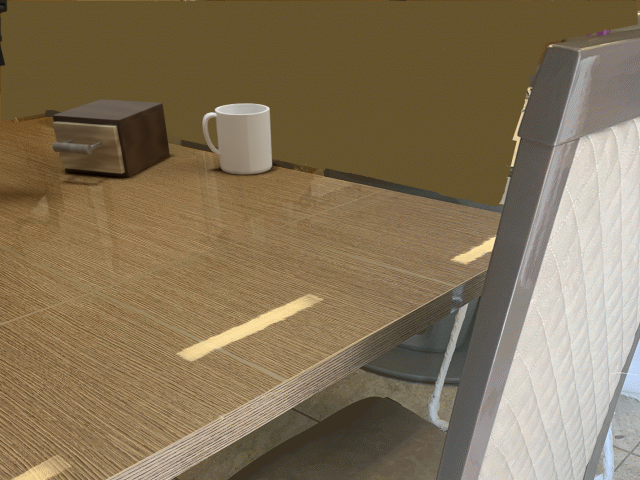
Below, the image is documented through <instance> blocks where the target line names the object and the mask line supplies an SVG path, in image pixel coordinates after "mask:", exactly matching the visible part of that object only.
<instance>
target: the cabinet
mask: <svg viewBox="0 0 640 480" xmlns="http://www.w3.org/2000/svg"><path fill="white" fill-rule="evenodd" d="M52 120H53V122H56V121H59V122H65V121H66V122H79V123H93V124H106V125H116V126H117V129H118V135H119V140H120V146H121V151H122V157H123V163H124V168H125V172H124V173H122V174H120V173H110V172H99V171H89V170H78V169H68V168H64V171H65V172H68V173H79V174H88V175H89V174H90V175H99V176H108V177H109V176H110V177H120V178H131V177H133V176H135V175H136V174H138V173H141V172H142V171H144V170H146V169H148V168H149V167H152V166H153V165H156V164H158V163H160V162H162V161H164V160H165V159H167V158H169V157H170V156H171V154H170V146H169V140H168V132H167V131H168V130H167V124H166V117H165V110H164V103H163V102H152V101H139V100H138V101H137V100H122V99H106V98H99V99H97V100H94V101H92V102H89V103H84V104H82V105H80V106H79V105H78V106H77V107H73V108H70V109H68V110H64V111H61V112H58V113H55V114H53V115H52Z"/></svg>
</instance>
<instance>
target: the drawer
mask: <svg viewBox="0 0 640 480" xmlns="http://www.w3.org/2000/svg"><path fill="white" fill-rule="evenodd" d="M52 126H53V131H54V135H55V140H56V141H54V142H53V143H52V150H53V151H54V152H56V153H59V157H60V161H61V166H62V168H63V169H65V168H68V169H78V170H89V171H99V172H110V173H120V174H122V173H124V172H125V168H124V163H123V157H122V151H121V146H120V140H119V135H118V129H117V126H116V125H106V124H93V123H79V122H66V121H65V122H59V121H56V122H54V121H53V122H52Z"/></svg>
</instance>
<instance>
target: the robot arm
mask: <svg viewBox="0 0 640 480" xmlns="http://www.w3.org/2000/svg"><path fill="white" fill-rule="evenodd" d="M7 11H8V0H0V15H1V14H3V13H6V12H7ZM1 42H3V36H2V33H1V30H0V43H1ZM4 66H6V62H5V57H4V54H3V49H2V46H1V44H0V67H4Z"/></svg>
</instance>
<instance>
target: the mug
mask: <svg viewBox="0 0 640 480" xmlns="http://www.w3.org/2000/svg"><path fill="white" fill-rule="evenodd" d="M270 111H271V110H270V107H269V106H267V105H265V104H259V103H232V104H225V105H221V106H220V105H219V106H218V107H216V108H214V112H213V111H212V112H211V111H210V112H207V113H206V114H204V116H203V118H202V132H203V136H204V140H205V142H206V145H207V147H208V148H209V149H210V150H211V152H213V153H214V154H215V155H218V157H219V168H220V169H221V171H222V172H224V173H228V174H231V175H255V174H256V175H258V174H261V173H265V172H267V171H269V170H271V168H272V167H273V155H272V153H273V152H272V133H271V132H272V131H271V112H270ZM213 118H215V125H216V126H215V127H216V136H217V146H218V147H217V148H216V147H215V145H214V144H213V142H212V139H211V137H210V134H209V125H208V124H209V121H210V119H213Z"/></svg>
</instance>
